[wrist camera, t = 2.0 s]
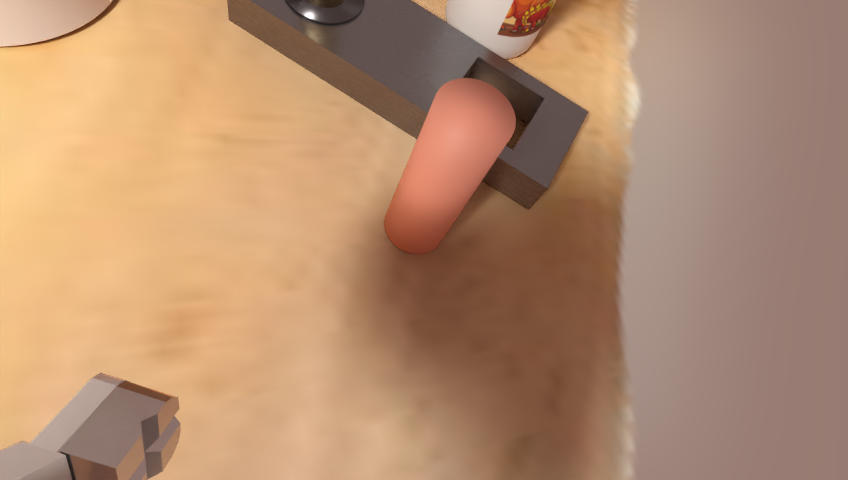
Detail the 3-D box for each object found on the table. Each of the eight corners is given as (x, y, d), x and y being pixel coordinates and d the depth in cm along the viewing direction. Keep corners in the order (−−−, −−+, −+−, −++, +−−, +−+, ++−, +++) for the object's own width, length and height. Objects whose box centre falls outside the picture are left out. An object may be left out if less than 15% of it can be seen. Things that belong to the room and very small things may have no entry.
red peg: (372, 231, 35) (417, 116, 25) (403, 188, 37) (458, 64, 27) (425, 265, 35) (493, 165, 25) (454, 220, 37) (528, 108, 27)
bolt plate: (228, 19, 39) (219, -102, 31) (295, -37, 43) (301, -157, 35) (528, 209, 39) (594, 135, 31) (568, 135, 43) (636, 53, 35)
